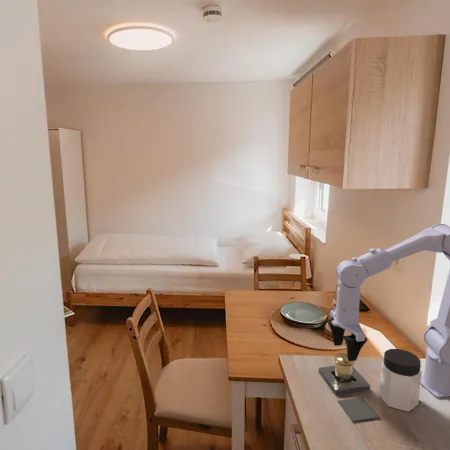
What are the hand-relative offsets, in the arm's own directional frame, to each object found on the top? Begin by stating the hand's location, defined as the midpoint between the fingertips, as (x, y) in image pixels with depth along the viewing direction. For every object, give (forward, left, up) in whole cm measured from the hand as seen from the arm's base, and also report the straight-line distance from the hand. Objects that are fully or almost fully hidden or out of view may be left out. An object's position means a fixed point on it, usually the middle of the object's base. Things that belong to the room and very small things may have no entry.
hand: (344, 352), depth 93 cm
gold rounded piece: (0, 0, -9) cm, 9 cm away
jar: (-10, +10, -9) cm, 17 cm away
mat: (+2, +11, -9) cm, 14 cm away
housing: (0, 0, -9) cm, 9 cm away
